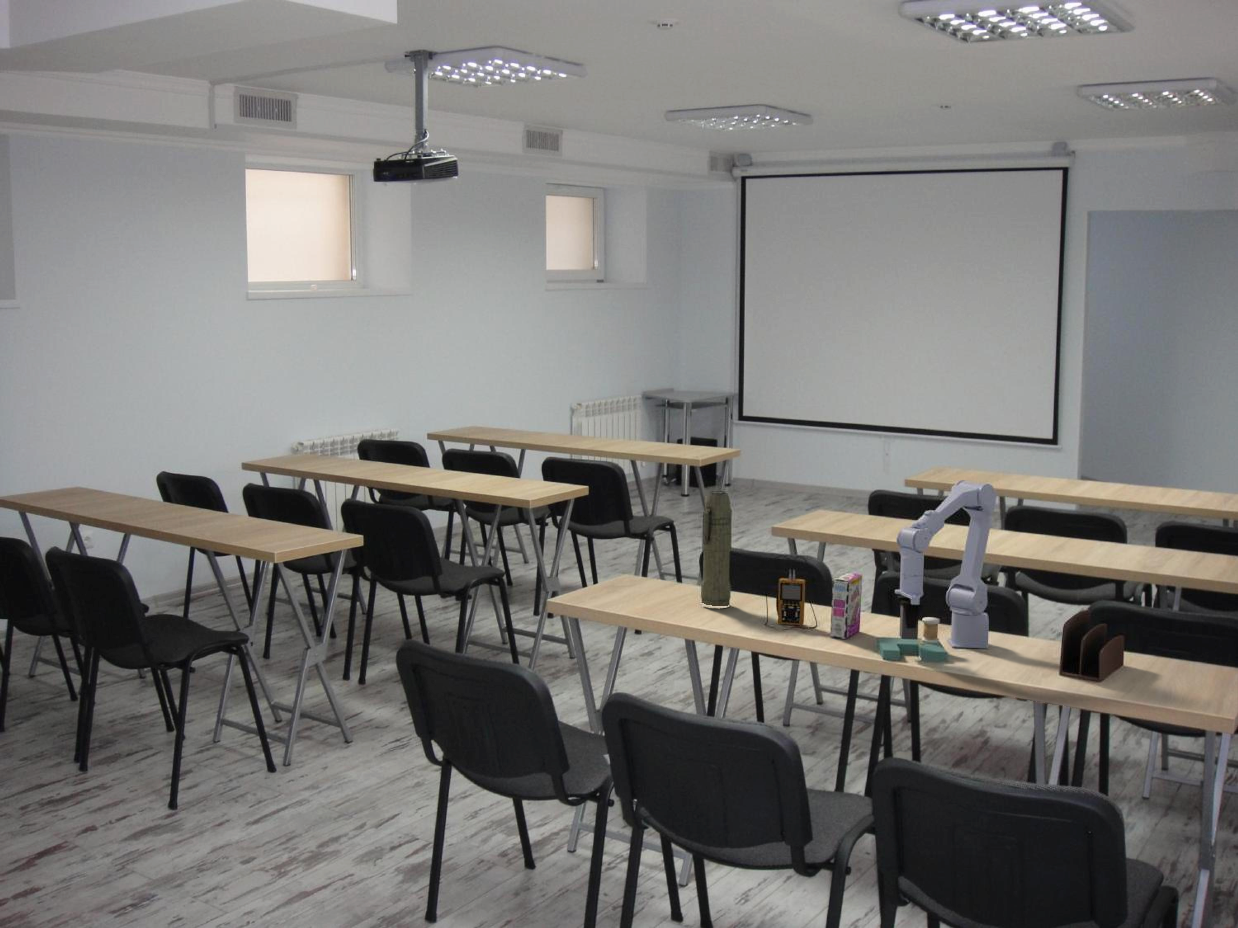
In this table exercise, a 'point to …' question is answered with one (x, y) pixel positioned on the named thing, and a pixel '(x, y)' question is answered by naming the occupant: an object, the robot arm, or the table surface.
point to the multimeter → (790, 600)
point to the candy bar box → (846, 605)
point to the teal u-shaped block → (915, 644)
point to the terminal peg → (907, 632)
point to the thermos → (716, 549)
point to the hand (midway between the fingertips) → (909, 625)
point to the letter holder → (1089, 650)
